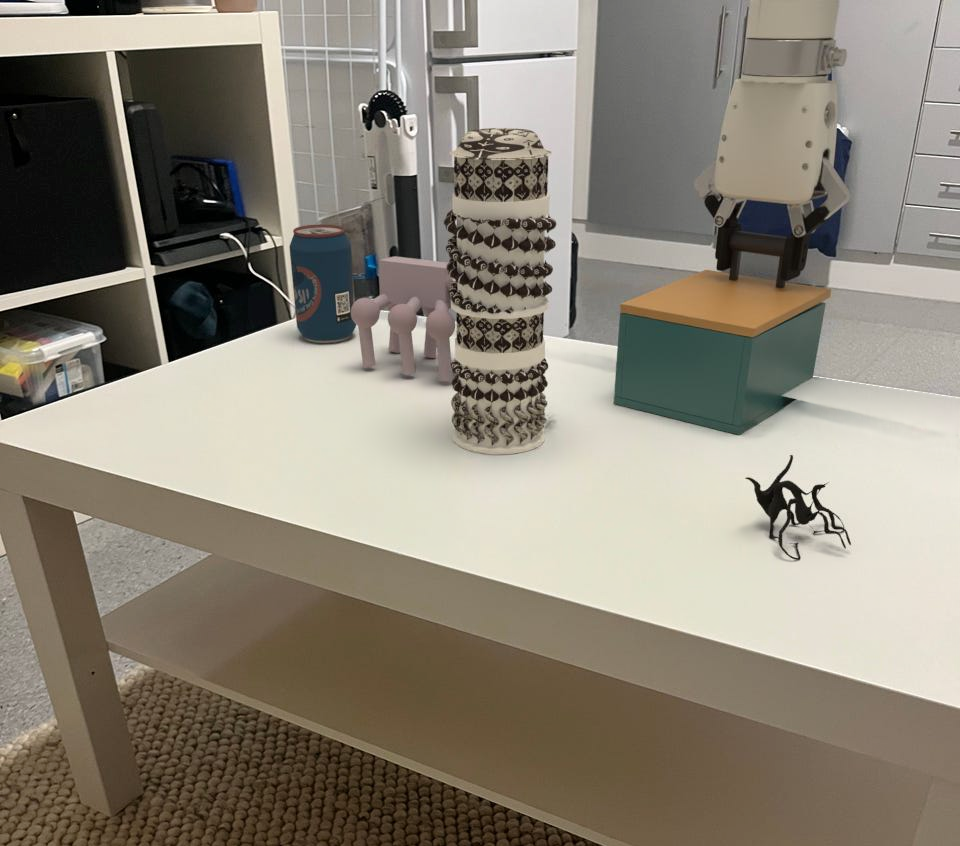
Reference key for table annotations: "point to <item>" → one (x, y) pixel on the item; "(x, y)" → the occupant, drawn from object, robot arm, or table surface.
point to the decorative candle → (499, 289)
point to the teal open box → (714, 369)
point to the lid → (731, 294)
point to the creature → (776, 502)
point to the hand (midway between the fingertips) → (757, 271)
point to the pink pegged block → (409, 311)
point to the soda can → (322, 283)
